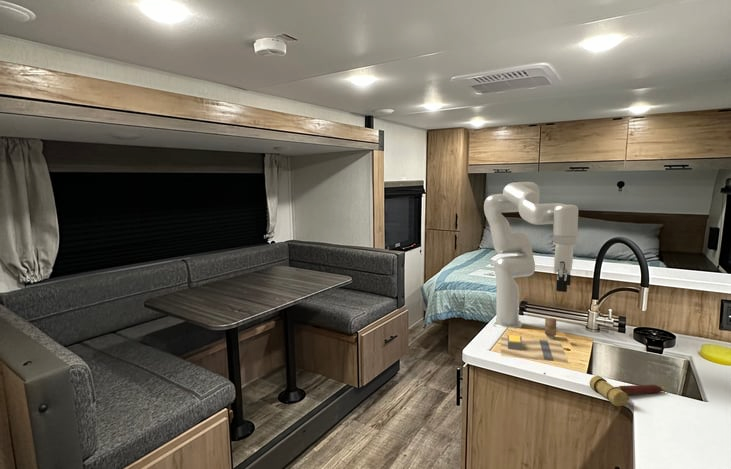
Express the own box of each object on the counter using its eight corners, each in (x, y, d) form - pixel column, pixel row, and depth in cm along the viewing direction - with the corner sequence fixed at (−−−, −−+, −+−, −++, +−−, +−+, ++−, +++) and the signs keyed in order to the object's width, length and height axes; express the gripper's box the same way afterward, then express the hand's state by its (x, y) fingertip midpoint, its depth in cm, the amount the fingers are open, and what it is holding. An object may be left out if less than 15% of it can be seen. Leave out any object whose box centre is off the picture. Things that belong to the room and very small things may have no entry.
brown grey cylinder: (544, 338, 158) (544, 317, 157) (555, 339, 157) (555, 318, 155) (545, 342, 154) (545, 320, 153) (556, 343, 153) (557, 321, 152)
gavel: (651, 373, 120) (680, 390, 111) (649, 387, 121) (679, 405, 111) (589, 375, 118) (614, 392, 108) (588, 389, 119) (612, 407, 109)
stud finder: (507, 341, 153) (507, 334, 152) (521, 342, 151) (521, 335, 151) (507, 348, 146) (507, 341, 146) (522, 350, 144) (522, 342, 144)
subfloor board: (500, 339, 158) (500, 336, 158) (559, 345, 151) (559, 341, 151) (501, 359, 140) (501, 355, 140) (568, 366, 133) (568, 362, 133)
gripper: (556, 236, 143) (555, 281, 145) (549, 243, 129) (547, 292, 131) (579, 237, 139) (578, 283, 141) (574, 244, 124) (572, 295, 126)
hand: (563, 288), depth 136 cm, fingers open, 9 cm apart
